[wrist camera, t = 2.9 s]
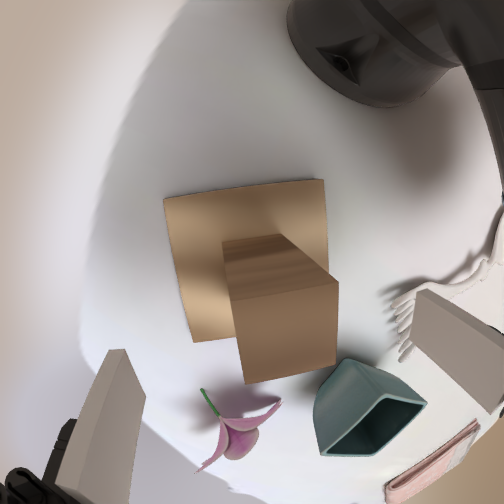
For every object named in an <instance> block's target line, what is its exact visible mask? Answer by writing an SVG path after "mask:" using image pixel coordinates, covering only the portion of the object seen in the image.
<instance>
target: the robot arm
mask: <svg viewBox="0 0 504 504" xmlns="http://www.w3.org/2000/svg"><path fill="white" fill-rule="evenodd" d="M287 26H288V31H289V34H290V37H291V40H292V42H293V44H294V46H295V48H296V50H297V51H298V53H299V55H300V56H301V57H302V59H303V60H304V61H305V63H306V64H307V65H308V66H309V67H310V69H311V70H312V71H313V72H314V73H315V74H316V75H317V76H318V77H320V78H321V79H322V80H323V81H324V82H325V83H327V84H328V85H329V86H331V87H332V88H333V89H335V90H336V91H338V92H339V93H341V94H343V95H345V96H346V97H348V98H350V99H352V100H355V101H357V102H360V103H362V104H366V105H369V106H374V107H382V108H388V107H395V106H398V105H402V104H405V103H409V102H412V101H414V100H416V99H418V98H419V97H421V96H422V95H423V94H424V93H425V92H426V91H427V90H428V89H429V88H430V87H431V86H432V85H433V84H435V83H436V82H437V81H438V80H439V79H440V78H441V77H442V76H443V75H444V74H445V73H446V72H447V71H448V70H449V69H451V68H454V67H457V66H461V65H463V67H464V68H465V70H466V73H467V75H468V77H469V79H470V81H471V83H472V86H473V88H474V91H475V94H476V96H477V99H478V101H479V104H480V106H481V109H482V112H483V115H484V118H485V121H486V124H487V127H488V130H489V133H490V136H491V140H492V144H493V147H494V151H495V155H496V159H497V163H498V168H499V173H500V178H501V183H502V189H503V191H502V196H501V197H502V203H503V206H504V0H292V2H291V4H290V6H289V8H288V13H287ZM409 340H410V341H411V342H412V343H413V344H415V345H416V346H417V347H418V348H419V349H420V350H421V351H422V352H424V353H425V354H426V355H427V356H428V357H429V358H430V359H431V360H433V361H434V362H435V363H436V364H437V365H438V366H439V367H440V368H441V369H442V370H444V371H445V372H446V373H447V374H448V375H449V376H450V377H451V378H452V379H453V380H454V381H455V382H457V383H458V384H459V385H460V386H461V387H462V388H463V389H464V390H465V391H466V392H467V393H468V394H469V395H470V396H471V397H472V398H474V399H475V400H476V401H477V402H478V403H479V404H480V405H481V406H482V407H483V408H484V409H485V410H486V411H487V412H488V413H489V414H490V415H491V414H492V413H494V412H495V411H496V410H497V409H498V408H499V407H500V406H501V404H502V402H503V401H504V334H503V333H502V334H501V332H500V331H499V330H497V329H496V328H494V327H492V326H489V325H486V324H485V323H483V322H482V321H480V320H479V319H477V318H476V317H474V316H472V315H471V314H469V313H468V312H466V311H464V310H463V309H461V308H459V307H458V306H456V305H455V304H453V303H451V302H450V301H448V300H446V299H445V298H443V297H441V296H440V295H438V294H436V293H434V292H433V291H431V290H429V289H428V288H426V289H423V290H420V291H417V292H416V299H415V306H414V313H413V319H412V324H411V330H410V335H409ZM145 399H146V395H145V393H144V391H143V389H142V387H141V385H140V383H139V380H138V378H137V376H136V374H135V372H134V369H133V367H132V365H131V362H130V360H129V358H128V355H127V353H126V350H125V349H116V350H109V351H108V353H107V355H106V357H105V359H104V361H103V363H102V365H101V367H100V369H99V371H98V374H97V376H96V378H95V380H94V382H93V384H92V387H91V389H90V391H89V393H88V396H87V398H86V401H85V403H84V405H83V407H82V410H81V412H80V415H79V417H78V419H69V420H68V422H66V424H65V425H64V426H63V427H62V428H61V431H60V433H59V435H58V438H57V439H58V441H56V443H55V445H54V449H53V450H52V453H51V456H50V458H49V461H48V464H47V467H46V470H45V472H44V475H43V478H42V480H40V479H39V478H37V477H36V476H35V475H34V474H33V473H32V472H30V471H29V470H28V469H26V468H22V467H19V468H15V469H13V470H12V471H10V472H9V473H8V475H7V476H6V479H5V486H4V485H3V484H1V483H0V504H129V494H130V486H131V479H132V472H133V465H134V458H135V452H136V446H137V440H138V435H139V429H140V424H141V419H142V414H143V409H144V404H145ZM503 414H504V407H503V409H502V411H501V412H500V418H501V417H502V416H503Z"/></svg>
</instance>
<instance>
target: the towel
mask: <svg viewBox="0 0 504 504" xmlns="http://www.w3.org/2000/svg"><path fill="white" fill-rule="evenodd" d="M480 429H481V428H480V424H479V423H478V422H477V419H476V418H475V419H474V420H473V421H472V422H471V423H470V424H468V425H467V426H466V427H465V428H464V429H463V430H462V431H461V432H459V433H458V434H457V435H456V436H455V437H453V438H452V439H451V440H450V441H448V442H447V443H446V444H445V445H443V446H442V447H441V448H439V449H438V450H437V451H435V452H434V453H432V454H431V455H430V456H428V457H427V458H425V459H424V460H422V461H421V462H419V463H418V464H416V465H415V466H413V467H412V468H410V469H408V470H407V471H405V472H404V473H402V474H401V475H399V476H398V477H397V478H395V479H394V480H393V481H391V482H390V484H389V485H387V487H386V503H387V504H400V503H402V502H404V501H405V500H407V499H408V498H410V497H412V496H413V495H415V494H416V493H418V492H419V491H421V490H422V489H424V488H425V487H427V486H428V485H430V484H431V483H433V482H434V481H436V480H437V479H438V478H440V477H441V476H442V475H443V474H444V473H446V472H447V471H449V470H451V469H452V468H453V467H455V466H456V465H458V464H459V463H461V462H462V461H463V459H464V457H465V455H466V454H467V453H468V451H469V449H470V446H471V444H472V443H473V441H474V439H475V437H476V435H477V434H478V432H479V430H480Z"/></svg>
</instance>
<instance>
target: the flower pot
mask: <svg viewBox="0 0 504 504" xmlns="http://www.w3.org/2000/svg"><path fill="white" fill-rule="evenodd" d="M427 404H428V402H427V401H425V400H424V399H423V398H422V397H421V396H420V395H419V394H417V393H416V392H415V391H414V390H413V389H412V388H411V387H409V386H408V385H407V384H406V383H405V382H403V381H402V380H401V379H399V378H398V377H396V376H394V375H392V374H390V373H388V372H386V371H383V370H380V369H377V368H375V367H372V366H369V365H366V364H363V363H361V362H358V361H356V360H353V359H349V358H346V359H344V360H343V361H342V362H341V363H340V364H339V366H338V367H337V368H336V369H335V371H334V372H333V373H332V374H331V375H330V377H329V378H328V379H327V380H326V381H325V382H324V383H323V384H322V386H321V387H320V388H319V390H318V393H317V396H316V399H315V402H314V407H313V422H314V428H315V432H316V437H317V442H318V446H319V451H320V455H321V456H339V457H369V456H374V455H375V454H377V453H378V452H379V451H381V450H382V449H383V448H384V447H385V446H386V445H387V444H388V443H389V442H390V441H392V440H393V439H394V438H395V437H396V436H397V435H398V434H399V433H400V432H401V431H402V430H403V429H404V428H405V427H406V426H407V425H408V424H409V423H411V422H412V420H414V418H415V417H416V416H417V415H418V414H419V413H420V412H421V411H422V410H423V409H424V408H425V406H426V405H427Z"/></svg>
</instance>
